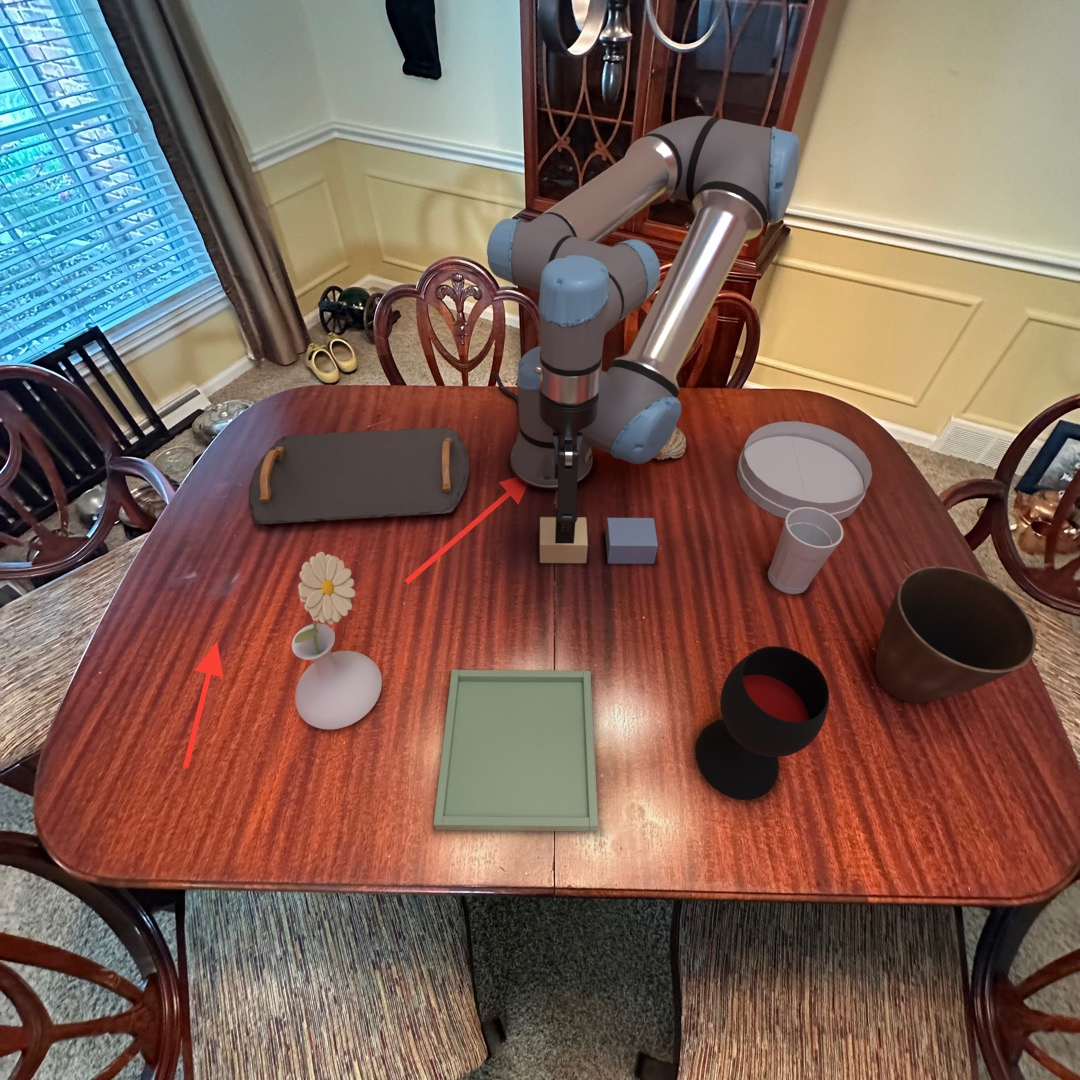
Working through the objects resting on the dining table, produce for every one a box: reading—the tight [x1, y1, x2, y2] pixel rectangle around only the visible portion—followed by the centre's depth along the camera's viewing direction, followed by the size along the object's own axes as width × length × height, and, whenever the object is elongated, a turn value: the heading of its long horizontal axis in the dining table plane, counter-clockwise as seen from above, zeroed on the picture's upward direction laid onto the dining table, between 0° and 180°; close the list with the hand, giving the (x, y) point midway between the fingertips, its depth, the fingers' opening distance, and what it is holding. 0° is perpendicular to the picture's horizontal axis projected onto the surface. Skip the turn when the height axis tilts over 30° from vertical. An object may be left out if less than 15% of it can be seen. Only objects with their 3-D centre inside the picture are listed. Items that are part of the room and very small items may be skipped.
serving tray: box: [248, 426, 471, 528], centre depth 107 cm, size 39×23×6 cm, turn 95°
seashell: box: [652, 426, 687, 461], centre depth 114 cm, size 8×6×10 cm
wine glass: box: [695, 645, 830, 801], centre depth 69 cm, size 10×10×20 cm
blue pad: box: [604, 517, 659, 565], centre depth 97 cm, size 8×6×4 cm
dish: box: [736, 420, 873, 522], centre depth 108 cm, size 22×22×5 cm
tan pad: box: [539, 516, 589, 564], centre depth 97 cm, size 8×6×4 cm
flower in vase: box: [291, 551, 383, 730], centre depth 73 cm, size 13×11×25 cm
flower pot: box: [875, 565, 1037, 704], centre depth 77 cm, size 15×15×16 cm
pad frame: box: [433, 669, 599, 832], centre depth 76 cm, size 19×20×2 cm
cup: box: [767, 507, 844, 595], centre depth 91 cm, size 8×8×12 cm
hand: (563, 508), depth 92 cm, fingers open, 13 cm apart
